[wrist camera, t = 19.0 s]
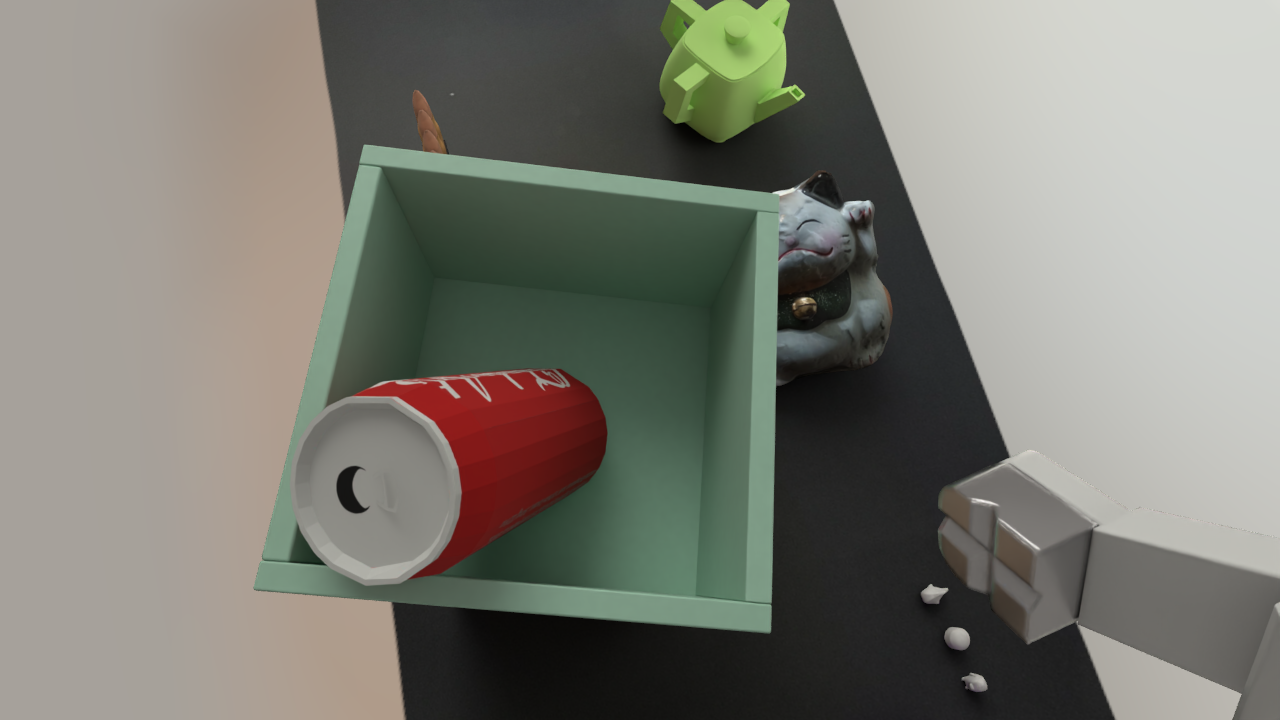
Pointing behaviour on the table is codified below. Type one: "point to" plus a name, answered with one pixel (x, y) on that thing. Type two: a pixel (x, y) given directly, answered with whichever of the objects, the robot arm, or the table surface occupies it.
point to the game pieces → (955, 638)
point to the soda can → (440, 467)
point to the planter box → (587, 350)
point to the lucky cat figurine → (827, 283)
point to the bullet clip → (428, 126)
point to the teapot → (725, 66)
